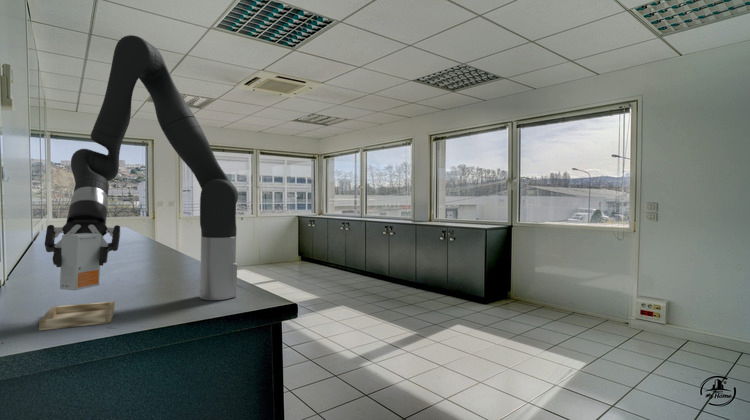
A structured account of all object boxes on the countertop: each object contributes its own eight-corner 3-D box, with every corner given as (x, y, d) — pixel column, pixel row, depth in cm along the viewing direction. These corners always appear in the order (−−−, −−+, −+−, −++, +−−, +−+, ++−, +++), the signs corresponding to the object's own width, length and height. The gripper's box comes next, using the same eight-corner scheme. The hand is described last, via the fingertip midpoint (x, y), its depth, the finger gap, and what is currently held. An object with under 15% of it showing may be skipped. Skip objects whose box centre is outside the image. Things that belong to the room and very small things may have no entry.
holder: (114, 309, 94) (115, 301, 94) (110, 322, 84) (110, 314, 84) (51, 314, 88) (52, 306, 88) (39, 330, 78) (39, 321, 78)
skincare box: (75, 291, 83) (76, 235, 82) (59, 289, 83) (60, 234, 83) (100, 285, 89) (102, 233, 88) (85, 283, 89) (86, 232, 89)
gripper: (48, 197, 88) (34, 255, 79) (123, 200, 96) (118, 253, 86) (53, 219, 93) (40, 276, 83) (123, 219, 100) (119, 272, 91)
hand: (80, 264), depth 85 cm, fingers closed on skincare box, 7 cm apart
